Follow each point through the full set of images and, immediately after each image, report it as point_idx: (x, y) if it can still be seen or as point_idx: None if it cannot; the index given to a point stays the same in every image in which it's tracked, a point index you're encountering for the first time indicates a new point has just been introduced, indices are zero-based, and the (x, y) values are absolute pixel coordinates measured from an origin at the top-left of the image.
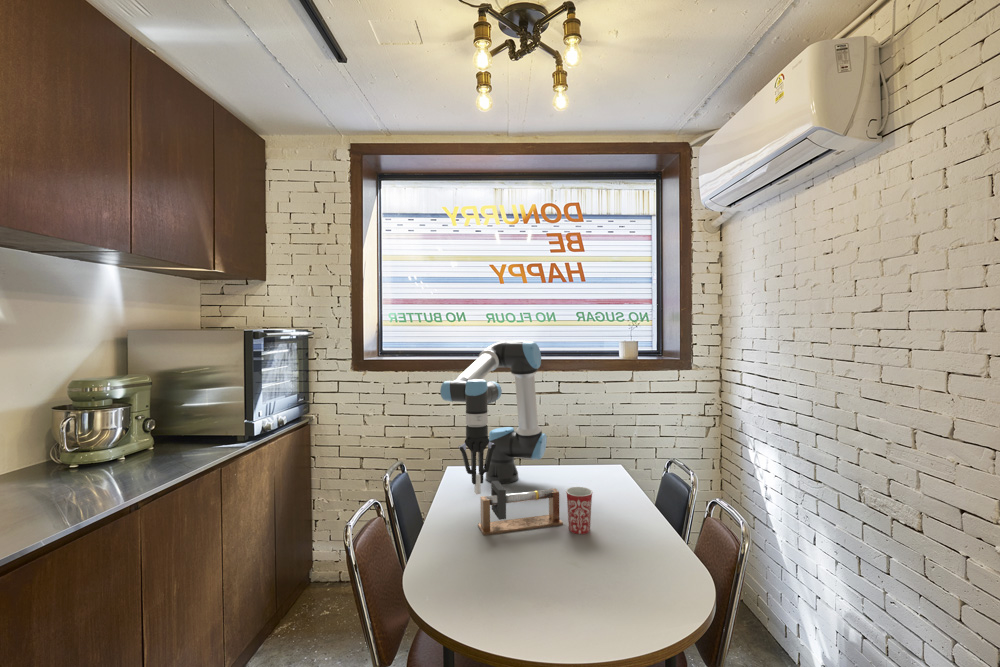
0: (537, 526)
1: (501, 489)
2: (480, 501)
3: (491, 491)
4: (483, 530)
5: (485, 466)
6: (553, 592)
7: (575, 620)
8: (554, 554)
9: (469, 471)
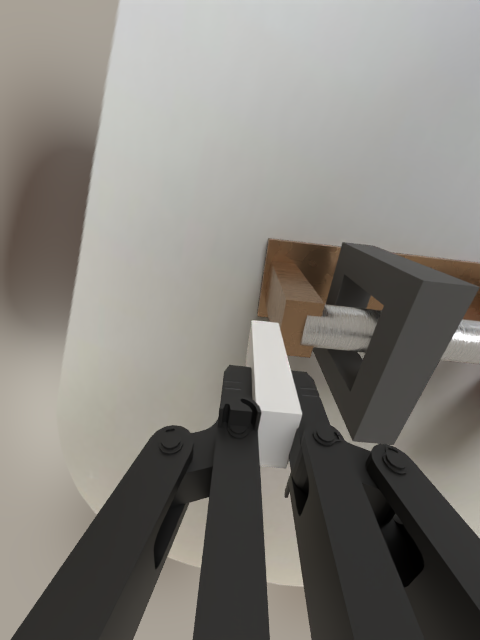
0: None
1: (375, 434)
2: (282, 291)
3: (381, 264)
4: (264, 300)
5: (405, 504)
6: (280, 515)
7: (271, 551)
8: (359, 446)
9: (171, 505)
